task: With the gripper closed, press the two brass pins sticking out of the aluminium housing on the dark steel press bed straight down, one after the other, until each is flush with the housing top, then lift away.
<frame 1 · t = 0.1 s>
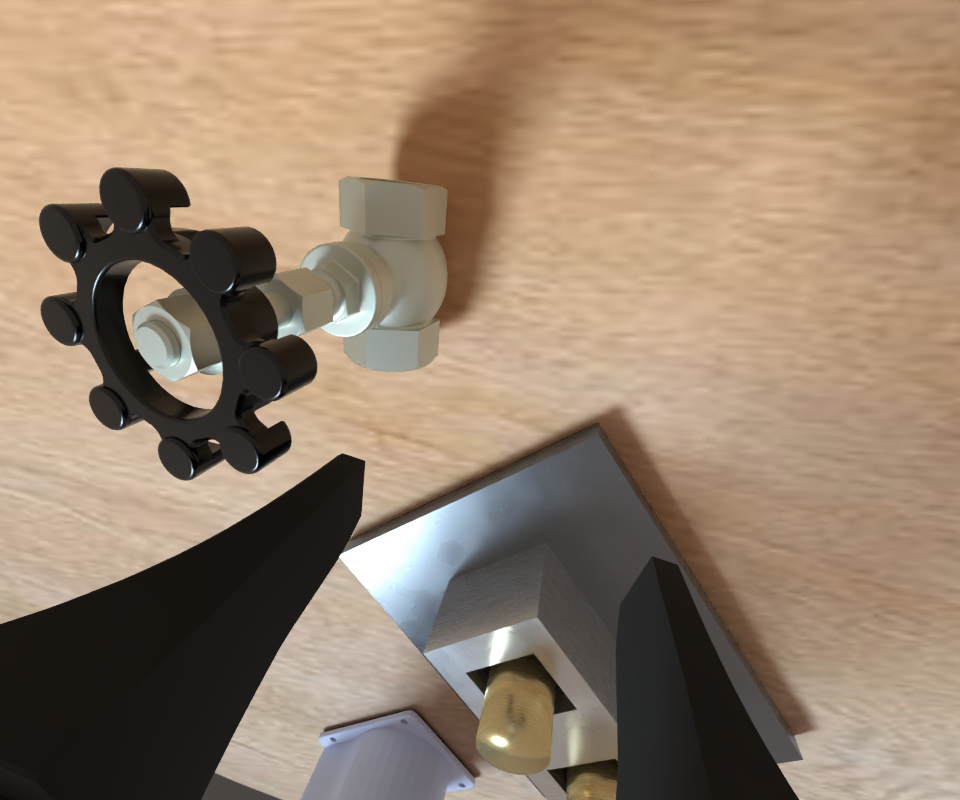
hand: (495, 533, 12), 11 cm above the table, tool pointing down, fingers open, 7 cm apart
valve: (419, 267, 20), on the table
housing: (565, 655, 26), resting on press bed
pin b: (599, 795, 22), point 6 cm above the table, slide at 0.0 cm
press bed: (566, 636, 27), on the table
pin a: (519, 697, 21), point 6 cm above the table, slide at 0.0 cm
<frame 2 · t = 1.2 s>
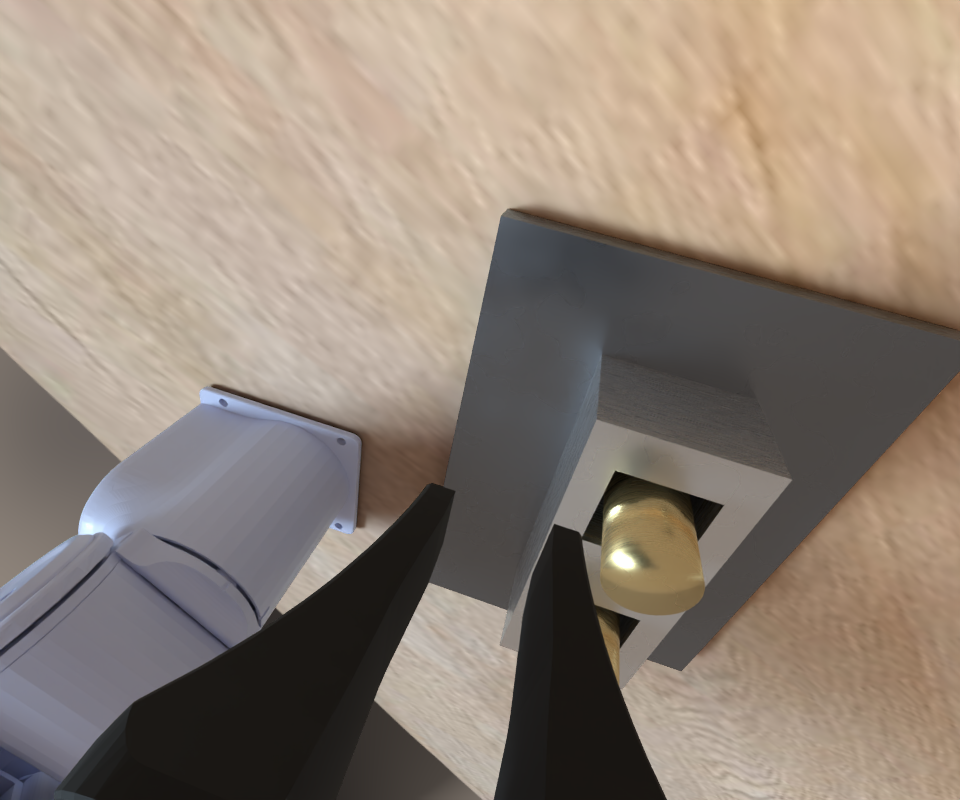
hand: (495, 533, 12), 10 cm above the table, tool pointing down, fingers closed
housing: (613, 500, 22), resting on press bed
pin b: (583, 635, 20), point 6 cm above the table, slide at 0.0 cm
press bed: (614, 483, 23), on the table
pin a: (647, 529, 16), point 6 cm above the table, slide at 0.0 cm
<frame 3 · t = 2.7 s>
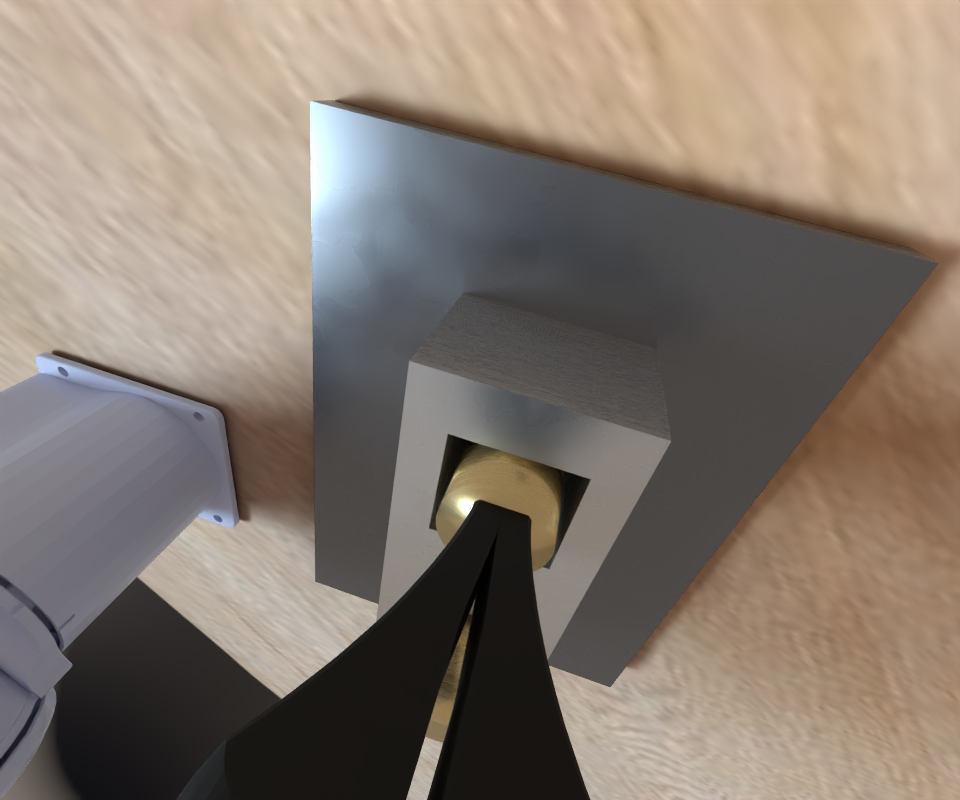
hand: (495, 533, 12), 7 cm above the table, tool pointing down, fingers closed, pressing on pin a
housing: (506, 483, 18), resting on press bed
pin b: (455, 649, 16), point 6 cm above the table, slide at 0.0 cm
press bed: (512, 463, 19), on the table
pin a: (510, 476, 13), point 4 cm above the table, slide at 1.5 cm, touching gripper
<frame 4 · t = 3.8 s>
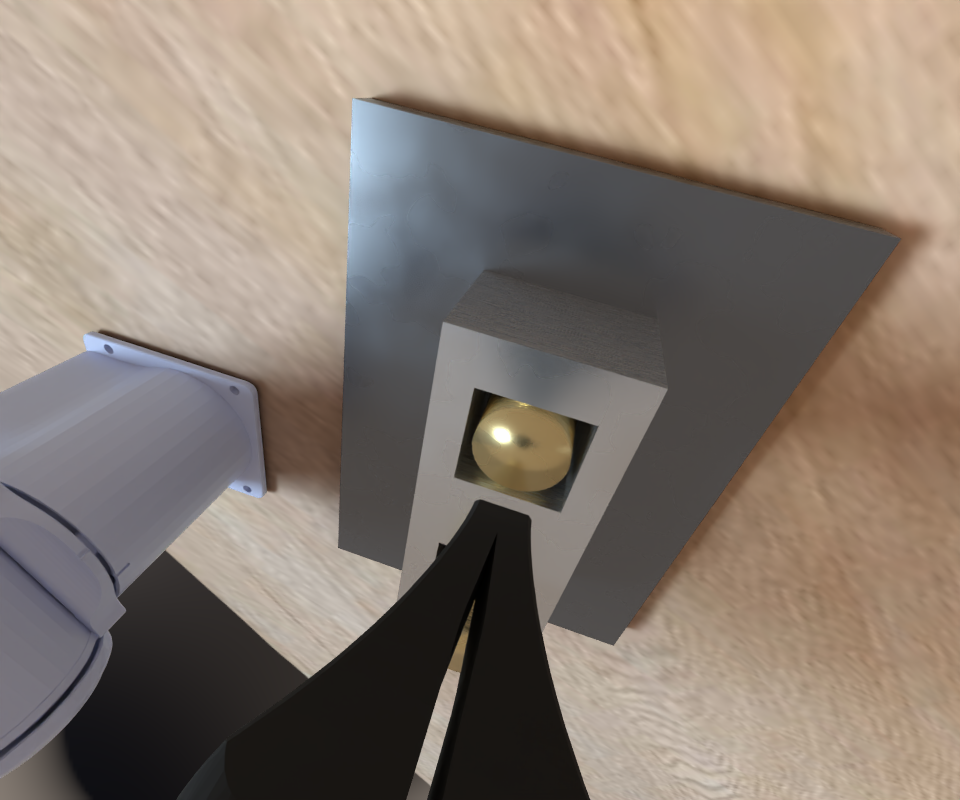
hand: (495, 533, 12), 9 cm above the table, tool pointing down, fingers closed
housing: (519, 448, 20), resting on press bed
pin b: (474, 593, 18), point 6 cm above the table, slide at 0.0 cm
press bed: (524, 431, 21), on the table
pin a: (531, 413, 16), point 3 cm above the table, slide at 2.5 cm
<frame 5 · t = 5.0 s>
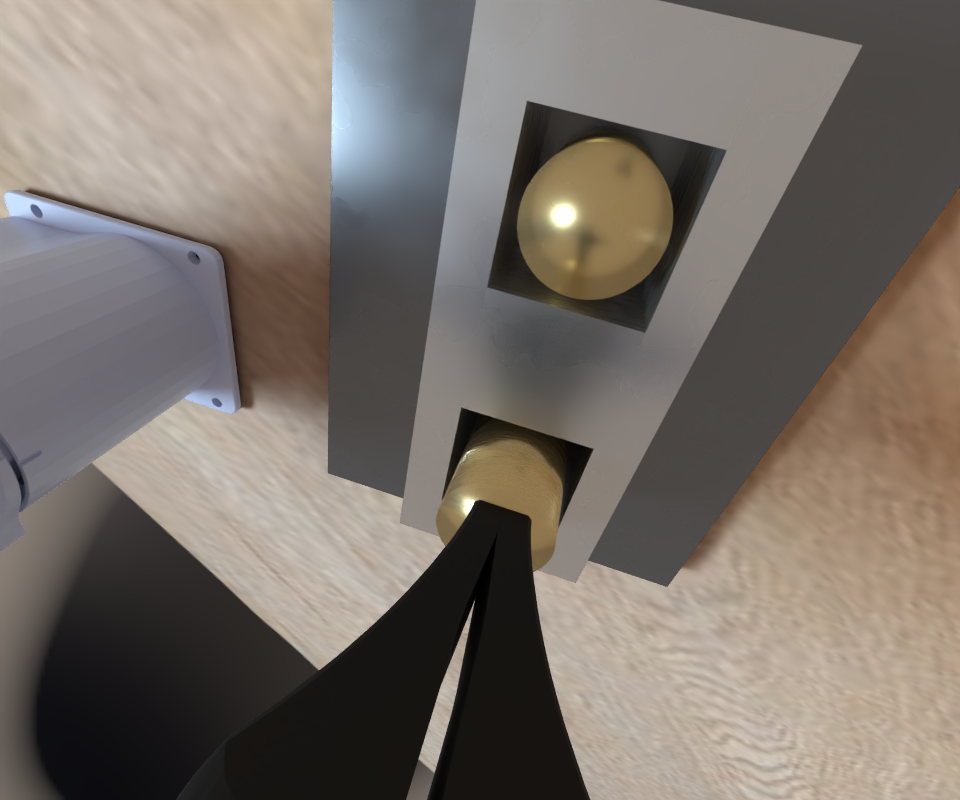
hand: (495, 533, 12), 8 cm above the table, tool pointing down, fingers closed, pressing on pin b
housing: (563, 305, 15), resting on press bed
pin b: (511, 475, 13), point 6 cm above the table, slide at 0.3 cm, touching gripper
press bed: (566, 292, 16), on the table
pin a: (596, 205, 11), point 3 cm above the table, slide at 2.5 cm
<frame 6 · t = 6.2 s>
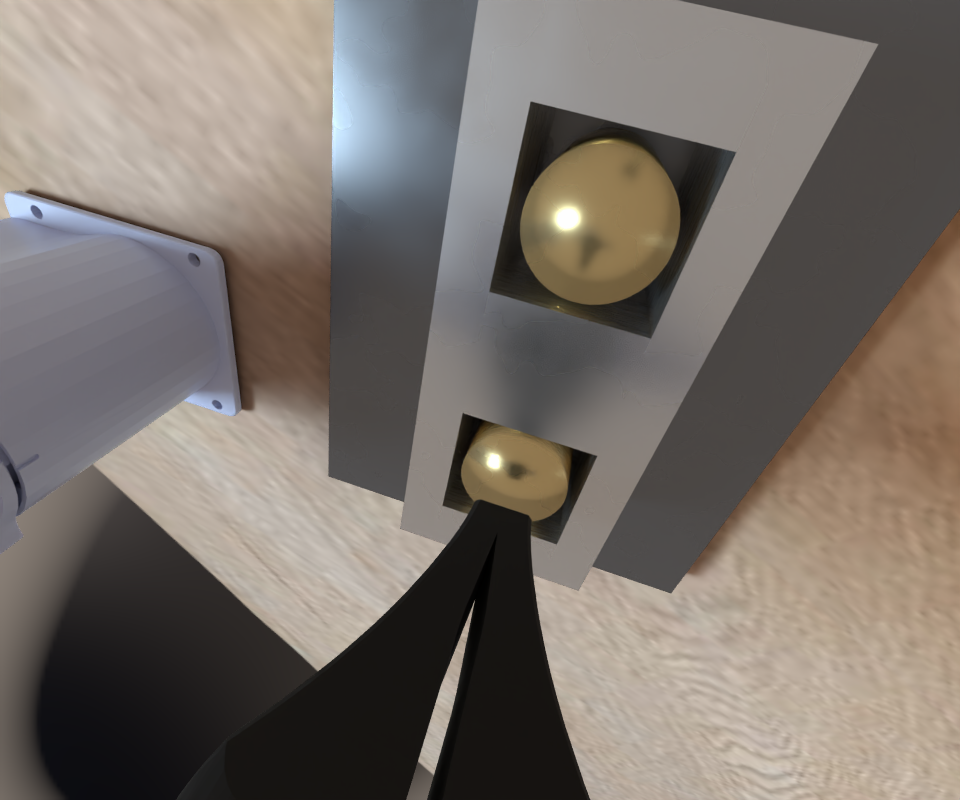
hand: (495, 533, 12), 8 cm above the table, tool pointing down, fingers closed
housing: (566, 308, 15), resting on press bed
pin b: (526, 436, 15), point 3 cm above the table, slide at 2.5 cm
press bed: (570, 295, 16), on the table
pin a: (601, 208, 11), point 3 cm above the table, slide at 2.5 cm
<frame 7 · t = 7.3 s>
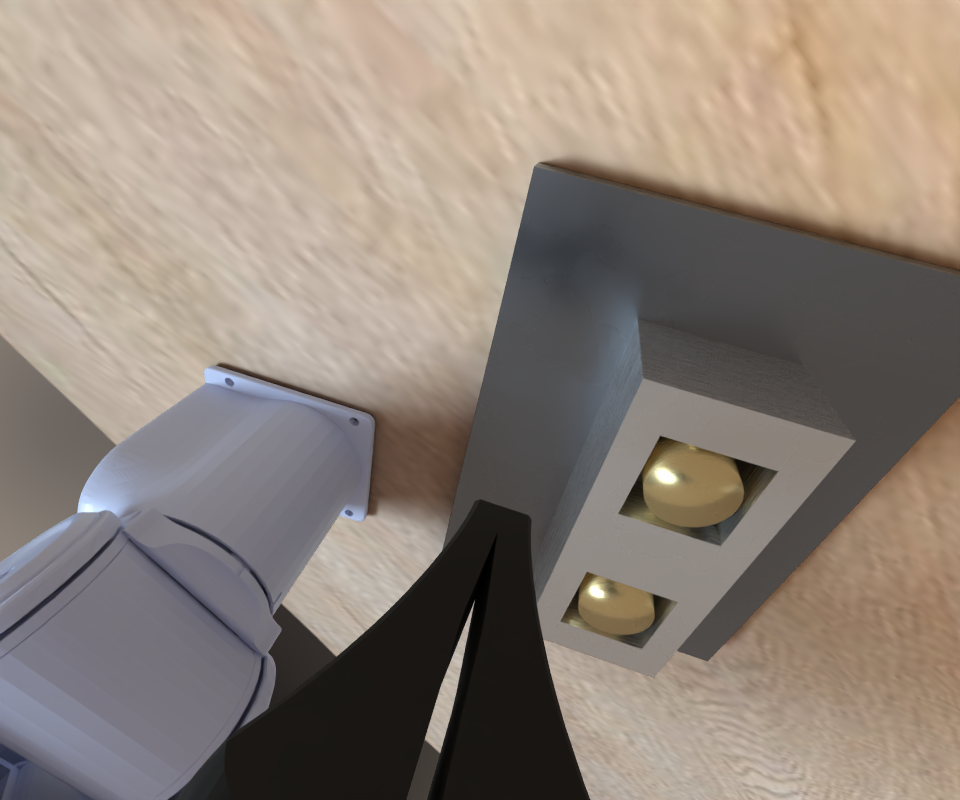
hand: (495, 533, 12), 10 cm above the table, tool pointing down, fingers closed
housing: (643, 478, 21), resting on press bed
pin b: (615, 568, 21), point 3 cm above the table, slide at 2.5 cm
press bed: (642, 461, 22), on the table
pin a: (684, 452, 17), point 3 cm above the table, slide at 2.5 cm
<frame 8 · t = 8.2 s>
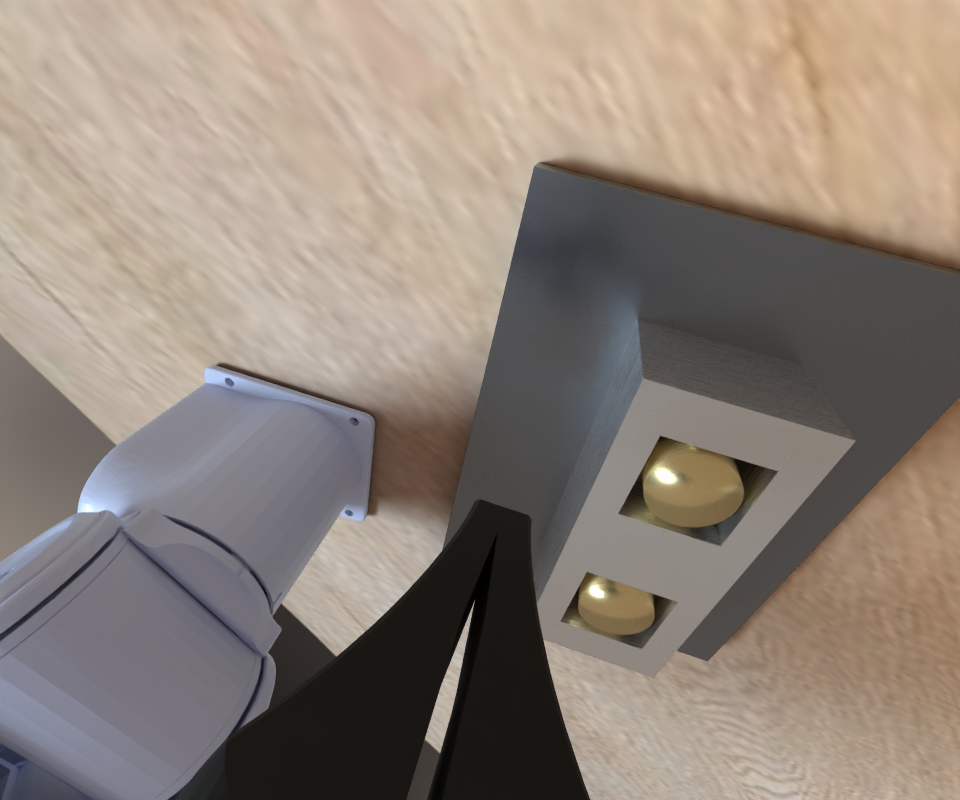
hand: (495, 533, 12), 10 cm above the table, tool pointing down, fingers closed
housing: (643, 478, 21), resting on press bed
pin b: (615, 568, 21), point 3 cm above the table, slide at 2.5 cm
press bed: (642, 461, 22), on the table
pin a: (684, 452, 17), point 3 cm above the table, slide at 2.5 cm
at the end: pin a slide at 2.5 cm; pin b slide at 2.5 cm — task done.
